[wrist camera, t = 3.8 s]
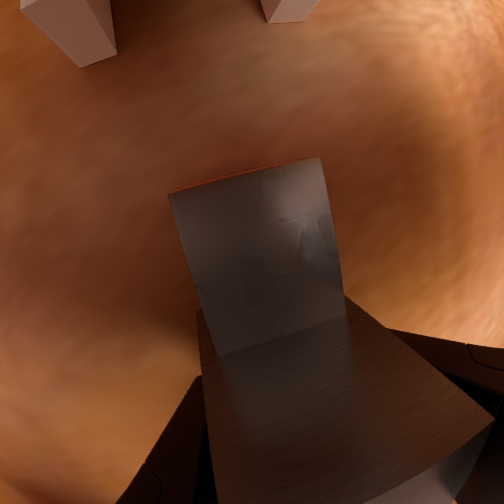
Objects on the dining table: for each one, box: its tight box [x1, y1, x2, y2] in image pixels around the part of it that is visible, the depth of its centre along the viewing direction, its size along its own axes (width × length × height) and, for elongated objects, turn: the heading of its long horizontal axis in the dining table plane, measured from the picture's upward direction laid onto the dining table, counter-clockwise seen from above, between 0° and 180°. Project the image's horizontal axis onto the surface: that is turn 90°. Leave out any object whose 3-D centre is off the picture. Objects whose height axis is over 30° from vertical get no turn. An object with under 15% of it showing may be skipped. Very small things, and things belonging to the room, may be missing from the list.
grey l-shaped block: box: [167, 157, 495, 504], centre depth 7 cm, size 16×4×7 cm, turn 14°
